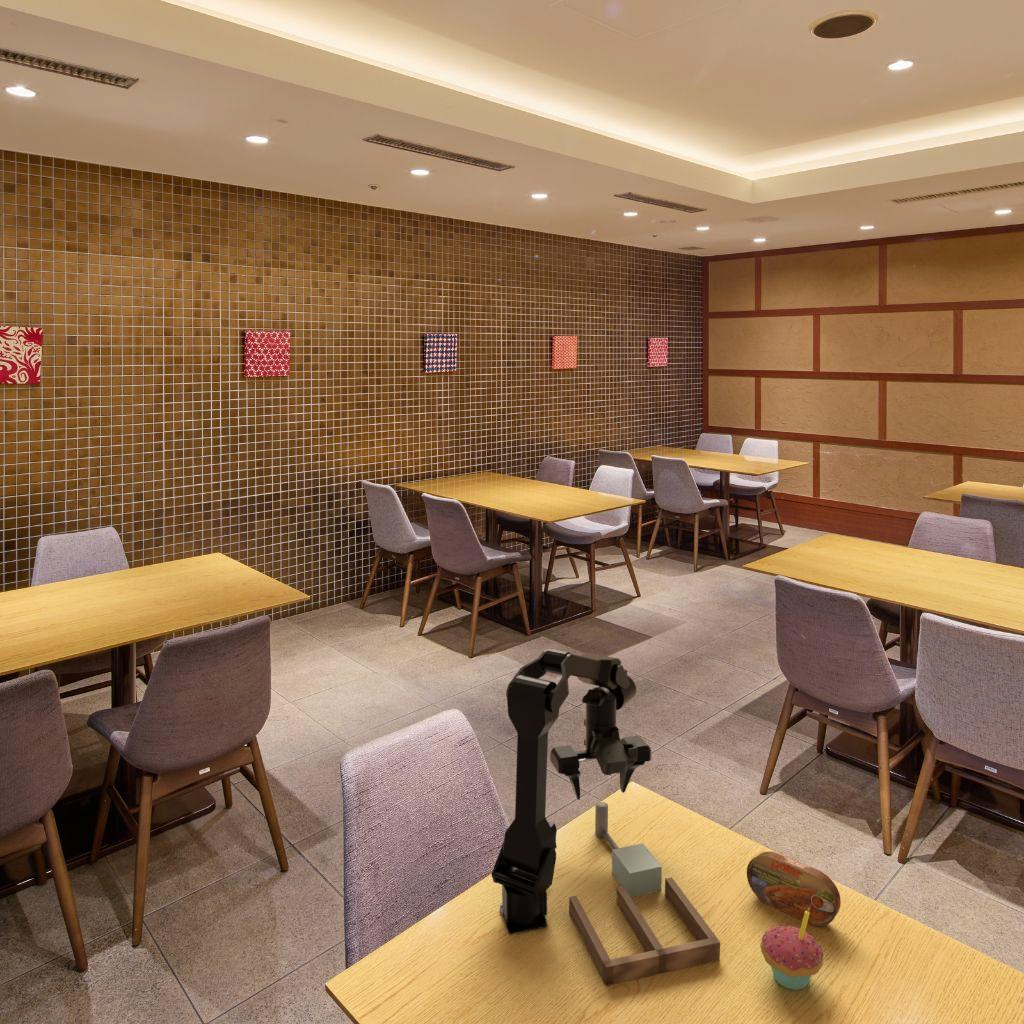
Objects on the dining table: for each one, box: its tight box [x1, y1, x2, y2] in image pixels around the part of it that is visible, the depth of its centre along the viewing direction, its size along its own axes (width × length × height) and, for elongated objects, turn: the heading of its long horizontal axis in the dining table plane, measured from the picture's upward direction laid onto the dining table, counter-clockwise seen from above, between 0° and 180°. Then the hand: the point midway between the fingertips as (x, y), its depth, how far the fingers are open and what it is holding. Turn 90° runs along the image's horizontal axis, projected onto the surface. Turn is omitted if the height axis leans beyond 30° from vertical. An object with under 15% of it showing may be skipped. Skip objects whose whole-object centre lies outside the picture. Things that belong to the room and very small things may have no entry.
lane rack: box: [568, 876, 721, 986], centre depth 121 cm, size 18×16×3 cm
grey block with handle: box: [594, 801, 663, 898], centre depth 140 cm, size 6×20×6 cm, turn 17°
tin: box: [746, 850, 842, 927], centre depth 126 cm, size 15×3×8 cm, turn 47°
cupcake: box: [760, 908, 824, 991], centre depth 111 cm, size 9×8×12 cm
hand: (600, 795), depth 148 cm, fingers open, 9 cm apart
